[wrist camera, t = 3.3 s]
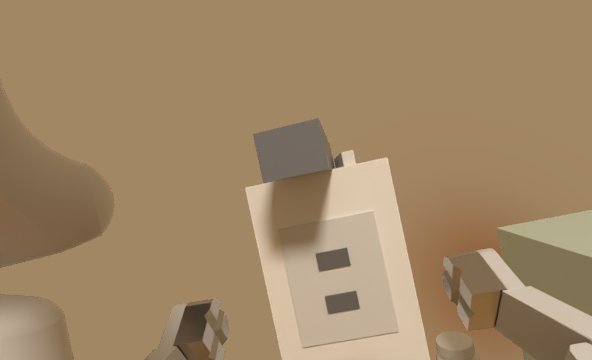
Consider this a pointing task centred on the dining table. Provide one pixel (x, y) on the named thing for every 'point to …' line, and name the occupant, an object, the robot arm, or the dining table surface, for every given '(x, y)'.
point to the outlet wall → (338, 265)
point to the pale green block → (553, 257)
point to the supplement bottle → (455, 346)
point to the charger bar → (293, 151)
